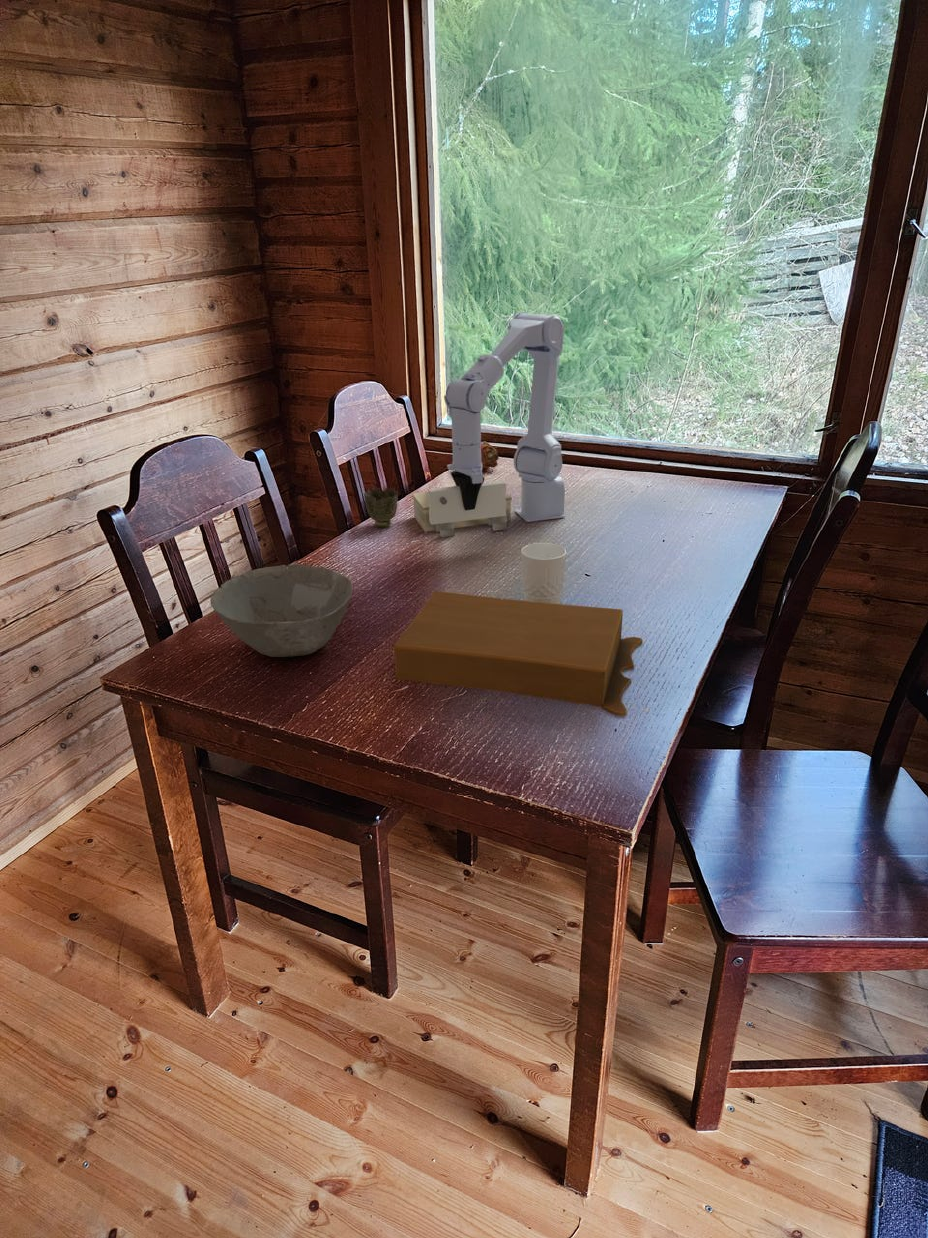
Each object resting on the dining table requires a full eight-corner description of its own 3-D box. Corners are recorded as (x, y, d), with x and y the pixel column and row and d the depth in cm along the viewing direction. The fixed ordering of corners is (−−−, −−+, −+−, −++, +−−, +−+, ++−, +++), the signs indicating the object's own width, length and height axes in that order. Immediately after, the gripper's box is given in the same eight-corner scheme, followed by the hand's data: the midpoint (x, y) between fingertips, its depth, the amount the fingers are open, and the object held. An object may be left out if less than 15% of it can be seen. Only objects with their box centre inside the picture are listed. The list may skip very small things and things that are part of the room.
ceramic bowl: (296, 695, 124) (289, 636, 119) (190, 657, 135) (179, 602, 131) (386, 635, 141) (382, 581, 136) (284, 605, 152) (278, 554, 147)
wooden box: (438, 587, 144) (645, 607, 134) (440, 620, 147) (642, 642, 137) (389, 650, 124) (628, 679, 114) (392, 688, 127) (625, 719, 117)
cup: (402, 520, 191) (400, 486, 187) (396, 532, 184) (394, 497, 181) (370, 520, 192) (367, 486, 188) (363, 531, 185) (360, 496, 182)
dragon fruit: (499, 479, 223) (461, 480, 228) (508, 454, 226) (470, 456, 232) (487, 459, 216) (448, 460, 222) (497, 433, 219) (457, 435, 225)
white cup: (568, 596, 153) (570, 545, 149) (558, 614, 146) (560, 561, 142) (526, 590, 155) (527, 540, 151) (515, 608, 149) (515, 556, 144)
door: (503, 513, 175) (503, 480, 172) (507, 517, 173) (508, 484, 169) (429, 522, 171) (428, 489, 168) (432, 526, 169) (431, 493, 165)
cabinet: (497, 507, 198) (497, 484, 195) (518, 527, 185) (518, 503, 183) (413, 516, 193) (412, 493, 190) (429, 538, 180) (428, 514, 178)
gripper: (437, 435, 170) (439, 498, 177) (457, 453, 158) (459, 521, 164) (470, 432, 172) (471, 495, 178) (492, 449, 160) (493, 517, 166)
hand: (468, 507), depth 171 cm, fingers closed on door, 2 cm apart
